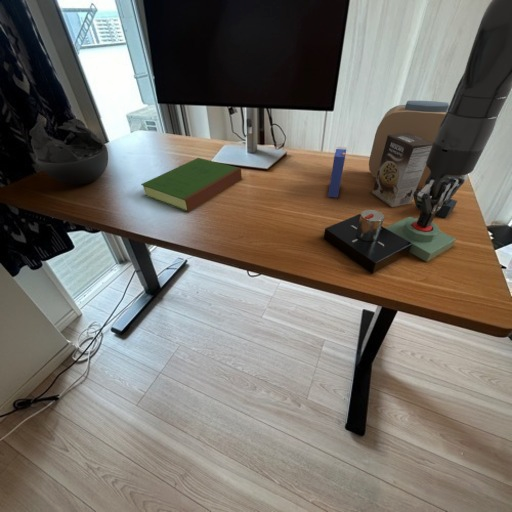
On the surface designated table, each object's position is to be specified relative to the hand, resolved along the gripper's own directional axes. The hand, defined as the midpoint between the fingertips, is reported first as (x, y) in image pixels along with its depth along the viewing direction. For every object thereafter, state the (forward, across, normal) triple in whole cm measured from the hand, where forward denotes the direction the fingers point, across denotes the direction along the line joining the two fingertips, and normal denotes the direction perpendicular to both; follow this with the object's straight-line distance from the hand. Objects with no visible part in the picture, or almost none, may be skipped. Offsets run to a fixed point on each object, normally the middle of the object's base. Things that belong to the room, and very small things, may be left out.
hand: (422, 225), depth 58 cm
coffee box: (+4, -12, -16) cm, 20 cm away
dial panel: (+4, +11, -5) cm, 13 cm away
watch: (+4, -16, -5) cm, 17 cm away
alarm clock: (+4, -23, -21) cm, 32 cm away
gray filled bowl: (+4, +61, -80) cm, 101 cm away
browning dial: (+1, +11, -5) cm, 12 cm away
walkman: (+4, -2, -28) cm, 28 cm away
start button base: (+4, 0, 0) cm, 4 cm away
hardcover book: (+4, +31, -55) cm, 63 cm away
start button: (+2, 0, 0) cm, 2 cm away
